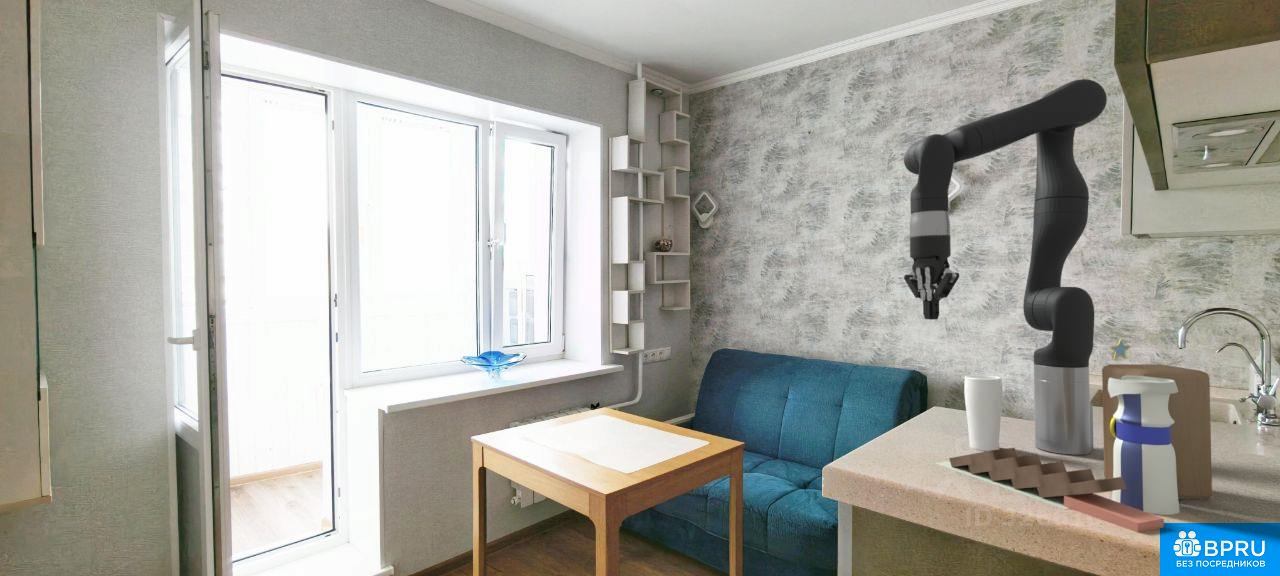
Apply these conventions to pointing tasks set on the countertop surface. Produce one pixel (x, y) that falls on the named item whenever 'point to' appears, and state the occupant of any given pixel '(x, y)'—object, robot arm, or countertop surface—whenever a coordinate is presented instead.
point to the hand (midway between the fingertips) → (931, 319)
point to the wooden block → (1185, 432)
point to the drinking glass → (983, 410)
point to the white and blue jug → (1144, 442)
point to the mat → (1008, 485)
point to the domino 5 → (1083, 487)
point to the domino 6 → (1113, 512)
